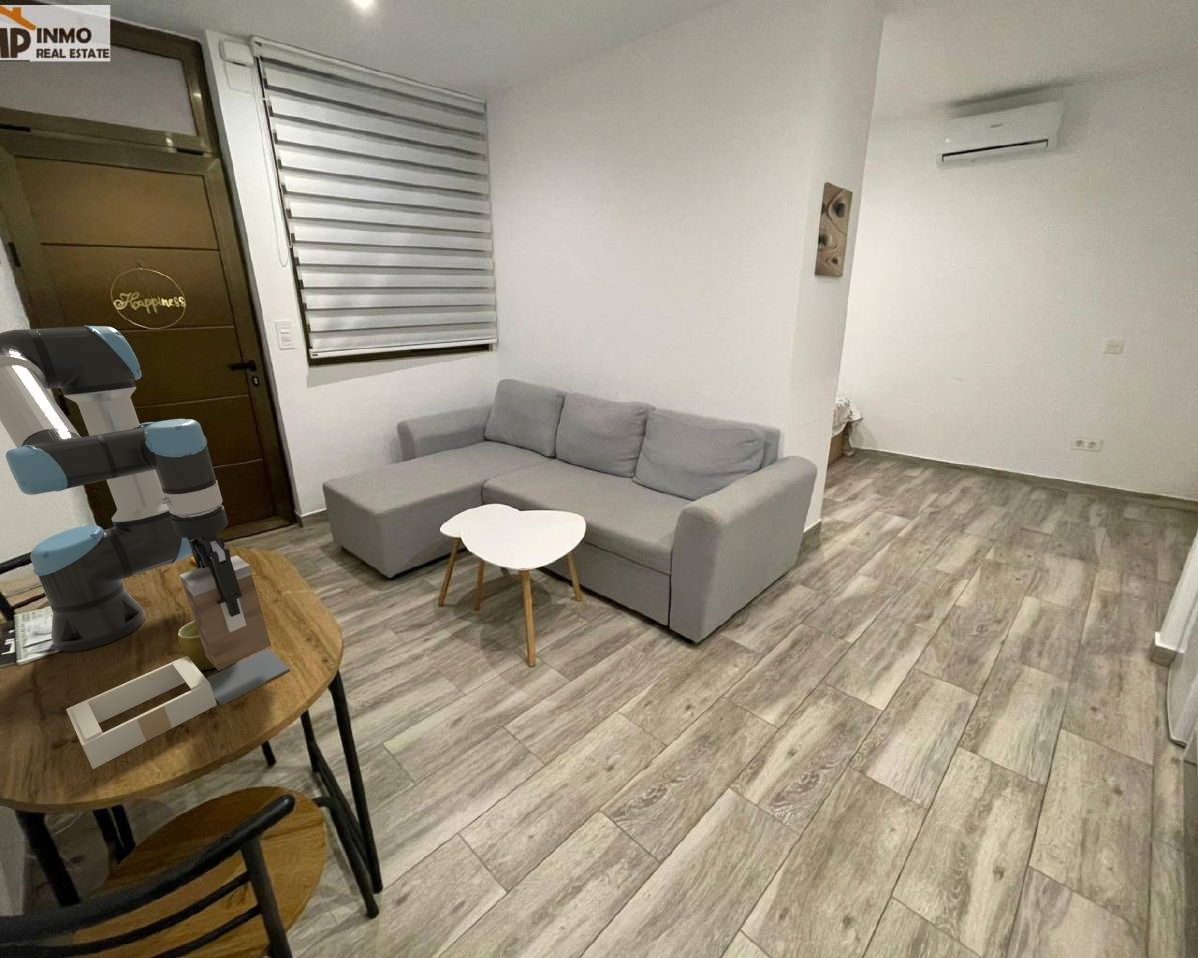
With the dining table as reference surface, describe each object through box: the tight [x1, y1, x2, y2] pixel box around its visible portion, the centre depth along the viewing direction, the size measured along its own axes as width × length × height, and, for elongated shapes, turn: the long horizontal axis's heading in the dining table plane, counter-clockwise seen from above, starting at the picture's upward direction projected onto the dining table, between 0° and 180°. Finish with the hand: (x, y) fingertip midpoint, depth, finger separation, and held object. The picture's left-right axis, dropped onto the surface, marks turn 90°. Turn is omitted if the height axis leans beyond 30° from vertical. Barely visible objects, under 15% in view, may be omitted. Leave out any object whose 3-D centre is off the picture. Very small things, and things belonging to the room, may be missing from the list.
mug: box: [177, 620, 216, 672], centre depth 108 cm, size 12×10×10 cm
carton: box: [65, 656, 218, 770], centre depth 92 cm, size 12×17×5 cm
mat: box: [205, 648, 291, 706], centre depth 103 cm, size 10×12×1 cm
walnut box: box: [179, 555, 272, 672], centre depth 98 cm, size 6×9×18 cm
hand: (230, 621), depth 99 cm, fingers closed on walnut box, 6 cm apart
